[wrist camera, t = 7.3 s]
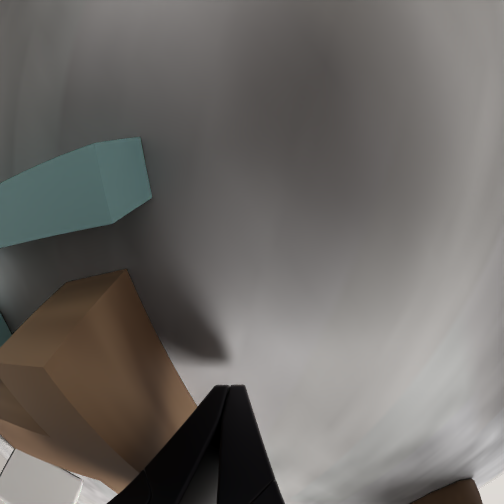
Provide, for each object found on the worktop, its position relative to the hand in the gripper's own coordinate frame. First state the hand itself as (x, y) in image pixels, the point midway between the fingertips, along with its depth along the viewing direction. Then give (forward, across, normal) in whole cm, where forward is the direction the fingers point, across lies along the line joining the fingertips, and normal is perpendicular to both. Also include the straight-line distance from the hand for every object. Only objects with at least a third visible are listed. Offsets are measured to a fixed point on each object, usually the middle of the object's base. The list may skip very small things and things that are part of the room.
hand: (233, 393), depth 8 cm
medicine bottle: (+1, +22, +17) cm, 28 cm away
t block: (+1, +6, +1) cm, 6 cm away
